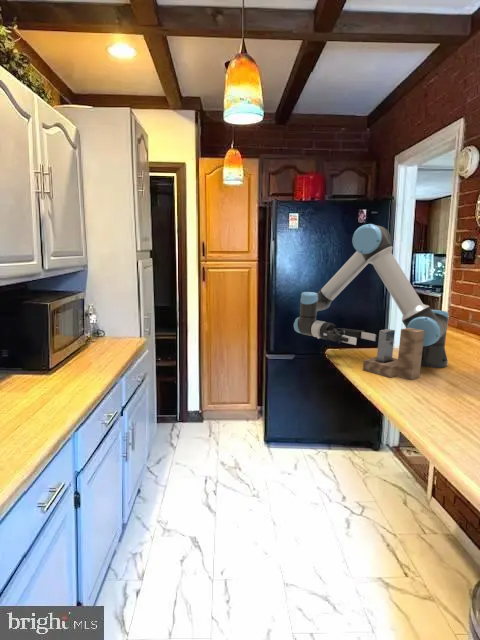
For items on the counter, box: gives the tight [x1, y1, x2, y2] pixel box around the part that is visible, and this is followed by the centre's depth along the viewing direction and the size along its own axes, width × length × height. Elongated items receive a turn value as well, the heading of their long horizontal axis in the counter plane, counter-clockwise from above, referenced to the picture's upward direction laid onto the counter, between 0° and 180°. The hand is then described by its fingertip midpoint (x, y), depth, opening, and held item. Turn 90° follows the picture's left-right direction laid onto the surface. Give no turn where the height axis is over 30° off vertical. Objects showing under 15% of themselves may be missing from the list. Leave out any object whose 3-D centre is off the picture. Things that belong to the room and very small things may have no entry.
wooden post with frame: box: [362, 327, 425, 381], centre depth 168 cm, size 18×14×18 cm
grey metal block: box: [376, 328, 396, 363], centre depth 171 cm, size 4×6×16 cm, turn 131°
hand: (366, 339), depth 178 cm, fingers open, 13 cm apart
